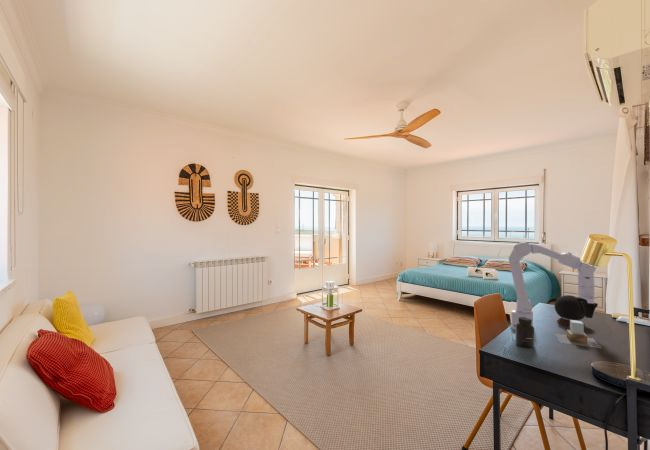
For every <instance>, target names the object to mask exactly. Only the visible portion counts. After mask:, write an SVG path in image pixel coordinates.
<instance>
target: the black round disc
mask: <svg viewBox="0 0 650 450" xmlns="http://www.w3.org/2000/svg"><path fill="white" fill-rule="evenodd" d="M576 297H577V296H574V295H571V294H569V295H562V296H559V298H557V299H556V300H555V301H554V310H555V312H556V313H557V315H558V317H559V318H558V319H557V320H556V323H557V324H559V325H561V326H564V327H568V326H569V327H568V328H570V320H576V321H581V320H583V319H584V318H586V316H585V313H581V311H580V307H579V304H578V301H577V299H576ZM582 323H583V324H584V328H585V326H586V324H585V323H584V322H583V321H582Z"/></svg>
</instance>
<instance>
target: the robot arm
mask: <svg viewBox="0 0 650 450" xmlns="http://www.w3.org/2000/svg"><path fill="white" fill-rule="evenodd" d="M531 253H532V254H541V255H544V256H547V257H549V258H553V259H555V260H557V261H558V263H559V264H561V265H563V266H565V267H569V268H571V269H574V270H578V271H577V274H578V275H577V296H575V297H576V299H577V301H578V304H579V307H580V311H581V313H585V318H587V319H592V318H593V316H594V313H595V310H596V309H597V307H598V306H599V304H598V303H597V302H595V300H596V299H598V298H599V296H597V295H595V273H594V272H595V271H596V269H597V267H596V266H595V267H594V266H590V265H588V264H585V263H582V262H581V261H580V258H581V257H579V256H577V255H573V253H571V252H570V251H569V252H562V253H559V252H557V251H554V250H552V249H550V248H547V247H545V246H543V245H539V244H536V243H532V242H528V241H524V240H523V241H519V242H518V243H516V244H515V245H514V246H513V247H512V250H511V252H510V254H509V256H508V263H509V267H510V272H511V274H512V275H511V276H512V280H513V284H514V289H515V294H516V308H515V310H514V309H513V310H512V309H511V311H510V326H511V325H512V326H511V329H512V330H514V331H516V324H517V323H519V322H518V318H519V317H526V318H530V319H531V320H532V324H531V325H532V326H533V327H534V311H533V304H532V301H531V299H530V298H529V297H528V293H527V288H526V285H525V284H526V283H525V280H524V275H523V271H522V266H521V263H520V262H521V261H522V259H523V258H524V257H527V256H528V255H530V254H531ZM534 333H536V331H535V329H534Z"/></svg>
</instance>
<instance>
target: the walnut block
mask: <svg viewBox="0 0 650 450" xmlns="http://www.w3.org/2000/svg"><path fill="white" fill-rule="evenodd" d="M566 335H567V338H568V339H569V341H570V342H576V343H583V344H587V338H588V335H587V334H586V333H585V332H584V335H580V334H572V333H571V331H570V329H566Z"/></svg>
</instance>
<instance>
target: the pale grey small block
mask: <svg viewBox="0 0 650 450" xmlns="http://www.w3.org/2000/svg"><path fill="white" fill-rule="evenodd" d="M582 322H583V321H581V320H580V321H576V320H570V327H569V330H570V331H571V333H572V334H580V335H584V333H585V331H584V330H585V327H584V324H585V323H584V322H583V323H582Z"/></svg>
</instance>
